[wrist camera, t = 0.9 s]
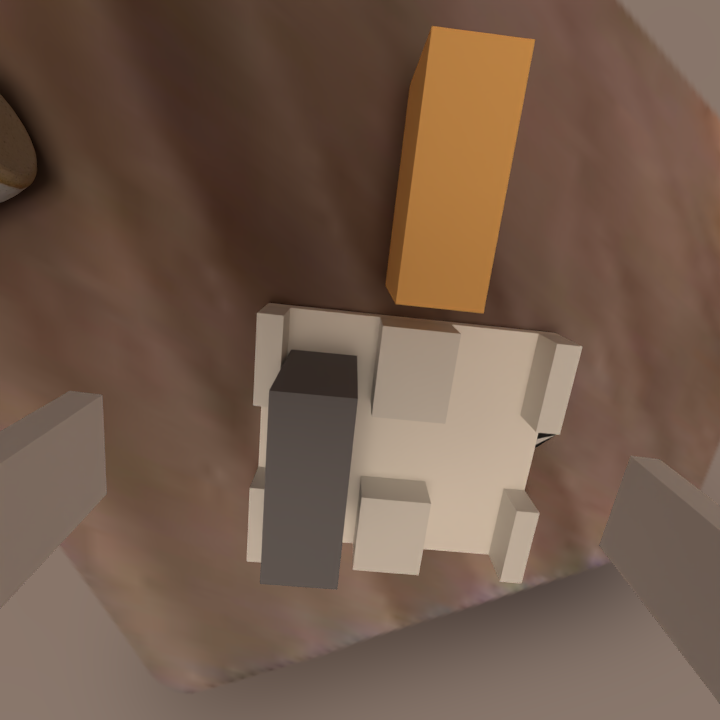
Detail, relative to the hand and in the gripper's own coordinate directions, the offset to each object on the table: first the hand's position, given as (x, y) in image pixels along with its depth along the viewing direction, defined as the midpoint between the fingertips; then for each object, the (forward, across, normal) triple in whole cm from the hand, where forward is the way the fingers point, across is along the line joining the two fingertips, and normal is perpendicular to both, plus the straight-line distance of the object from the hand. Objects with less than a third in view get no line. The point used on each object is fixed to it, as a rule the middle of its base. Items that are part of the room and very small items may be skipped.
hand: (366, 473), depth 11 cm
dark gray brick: (+19, -2, -9) cm, 21 cm away
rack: (+20, +4, -9) cm, 22 cm away
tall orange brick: (+20, +4, +8) cm, 22 cm away
